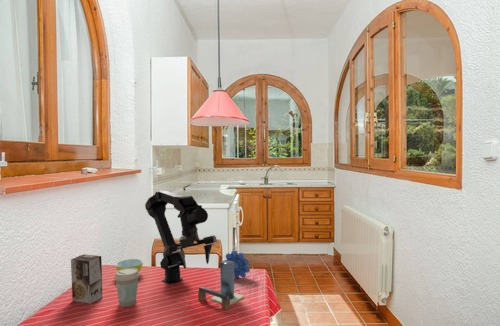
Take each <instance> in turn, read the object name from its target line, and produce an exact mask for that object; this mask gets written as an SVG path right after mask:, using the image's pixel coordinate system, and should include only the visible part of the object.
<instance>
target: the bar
mask: <svg viewBox="0 0 500 326" xmlns="http://www.w3.org/2000/svg"><path fill="white" fill-rule="evenodd" d="M199 290H200V291H202V292H205V293H206V294H209V295H211V296H213V297H214V296H217V297H220V298H223V299H225V300H228V299H229V295H226V294H223V293H220V291H216V290H214V289H211V288H207V287H205V286H202V285H201V286H198V291H199Z"/></svg>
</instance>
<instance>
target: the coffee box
mask: <svg viewBox="0 0 500 326" xmlns="http://www.w3.org/2000/svg"><path fill="white" fill-rule="evenodd" d="M102 266H103V264H102V255H94V254H81V255H78V256H75V257H74V258H71V259H70V268H71V270H70V271H71V292H72V294H71V297H72V302H77V303H84V304H92V303H95V302H97V301H98V300H100V299H102V298H103V270H102V269H103V268H102Z"/></svg>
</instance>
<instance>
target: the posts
mask: <svg viewBox="0 0 500 326" xmlns="http://www.w3.org/2000/svg"><path fill="white" fill-rule="evenodd" d="M197 294H198V295H197V298H198V299H197V300H198V301H200V302H204V301H205V300H207V293H205V292H202V291H200V290H199V289H198V290H197ZM230 308H231V305H230V298H229V299H228V300H225V299H222V303H221V310H224V311H228V310H230Z"/></svg>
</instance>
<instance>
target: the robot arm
mask: <svg viewBox="0 0 500 326" xmlns="http://www.w3.org/2000/svg"><path fill="white" fill-rule="evenodd" d="M168 204H170V205H172V206H173V208H174V210H177V212H179V213H178V215H177V218H178V219H180V224H181V229H182V230H181V236H180V237H179V239H178V241H179V242H178V243H176V240H175V238H174V236H173V233H172V230H171V228H170V225H169V223H168V222H169V221H168V220H167V218H166V210H167V207H166V206H167V205H168ZM144 205H145V207H144V208H145V210H146V212H147V214H148V216H150V217H151V218H152V219H153V220H154V223H155V225H156V227H157V230H158V233H159V236H160V239H161V241H162V245H163V247H164V248H163V253H162V259H161V261H160V262H159V265H160V268H161V269H163V270H164V278H163V279H162V280H161V282H163V283H166V284H169V285H174V284H177V283H178V282H181V281H183V280H184V279H183V277H181V269H180V268H181V267H183V269H187V263H186V254H185V251H184V249H187V248H190V247H195V246H200V245H203V249H204V255H205V263H206V264H207V265H208V264H209V262H210V256H211V255H210V254H211V251H212V246H214V245H215V243H217V242H218V241H217V236H215V234H214V235H213V234H212V235H209V236H205V237H202V238H203V239H200V237H199V234H198V229H199V228H198V227H197V225H199V224H200V225H201V224H202V223H205V222H206V221H208V217H209V213H208V211H207V210H206V209H205V208H203V206H202V205H200V204H198V203H197V201H196V200H195V198H194V197H193V196H192V195H179V194H176V193H174V192H171V191H168V190H157V191H155V194H153V195H152V196H150V197H149V198H148V199H147V201H146V203H144Z"/></svg>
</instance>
